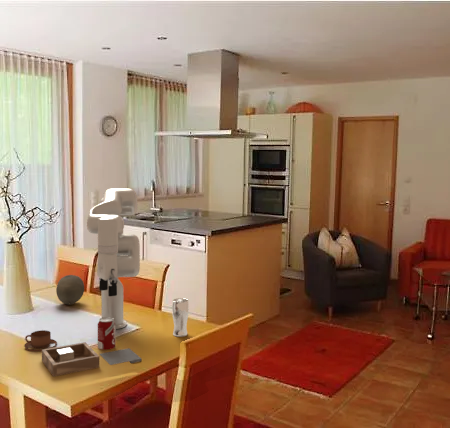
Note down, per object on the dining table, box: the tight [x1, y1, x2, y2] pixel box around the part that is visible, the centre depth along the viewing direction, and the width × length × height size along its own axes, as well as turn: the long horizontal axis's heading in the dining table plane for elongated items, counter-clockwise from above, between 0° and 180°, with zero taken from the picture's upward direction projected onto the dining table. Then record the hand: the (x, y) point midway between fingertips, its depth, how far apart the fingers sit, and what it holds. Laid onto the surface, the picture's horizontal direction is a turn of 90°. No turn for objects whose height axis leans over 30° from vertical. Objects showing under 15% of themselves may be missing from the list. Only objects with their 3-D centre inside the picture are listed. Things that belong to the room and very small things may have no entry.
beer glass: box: [171, 297, 190, 338], centre depth 220 cm, size 7×7×15 cm
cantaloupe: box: [55, 274, 85, 306], centre depth 261 cm, size 14×14×15 cm
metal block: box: [56, 347, 74, 363], centre depth 187 cm, size 5×5×4 cm
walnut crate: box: [41, 342, 100, 377], centre depth 185 cm, size 16×16×5 cm
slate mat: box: [99, 347, 142, 366], centre depth 193 cm, size 12×12×1 cm
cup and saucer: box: [23, 329, 58, 352], centre depth 202 cm, size 12×12×6 cm
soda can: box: [97, 317, 116, 351], centre depth 202 cm, size 7×7×12 cm
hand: (108, 292), depth 200 cm, fingers open, 9 cm apart
